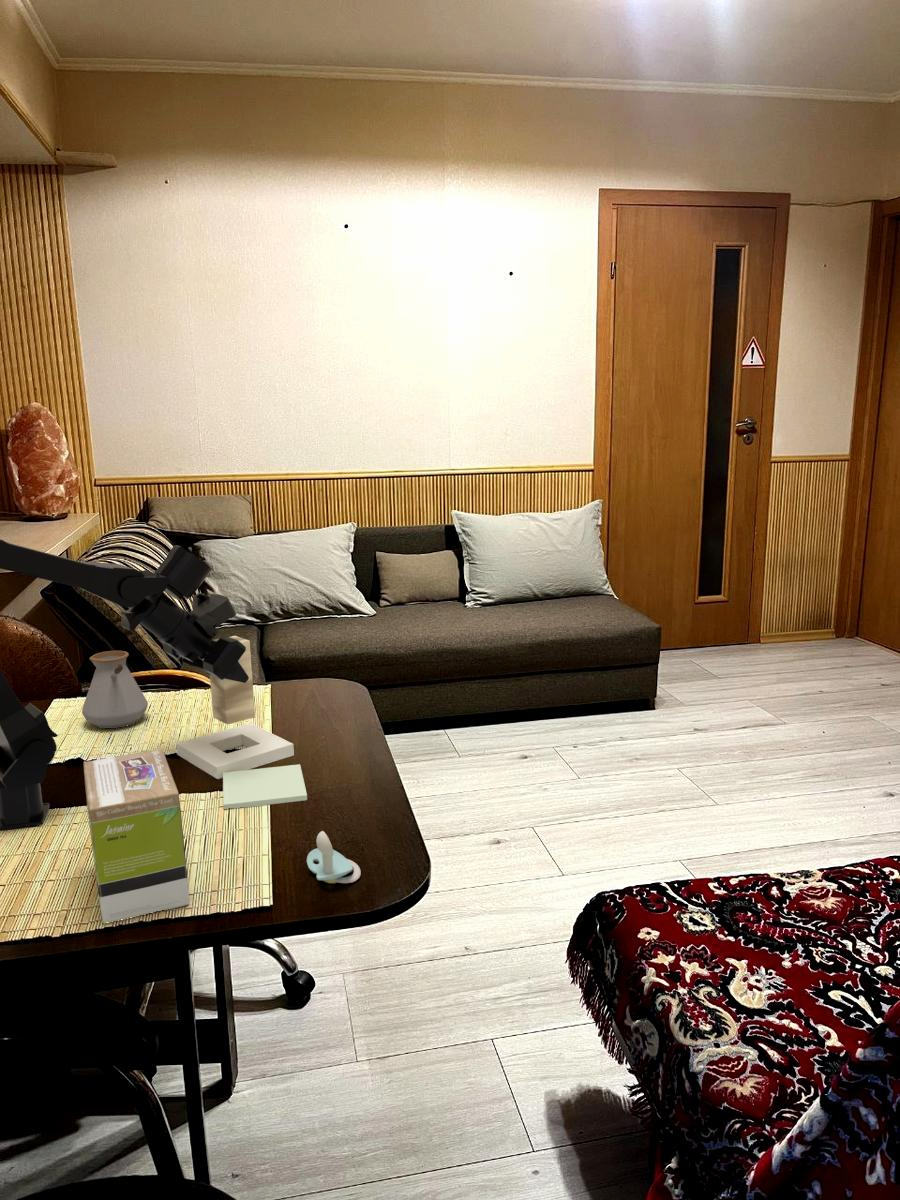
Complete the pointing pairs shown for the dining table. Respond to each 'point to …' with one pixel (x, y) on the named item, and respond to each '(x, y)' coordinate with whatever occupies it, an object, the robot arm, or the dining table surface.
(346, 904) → the dining table surface
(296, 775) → the sage mat
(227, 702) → the birch block
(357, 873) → the pacifier
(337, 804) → the dining table surface
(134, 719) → the coffee pot
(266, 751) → the pocket holder
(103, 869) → the tea box
